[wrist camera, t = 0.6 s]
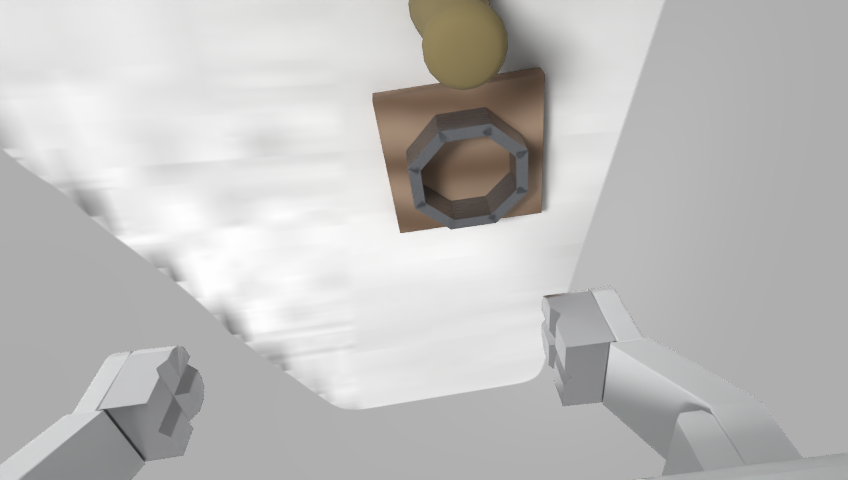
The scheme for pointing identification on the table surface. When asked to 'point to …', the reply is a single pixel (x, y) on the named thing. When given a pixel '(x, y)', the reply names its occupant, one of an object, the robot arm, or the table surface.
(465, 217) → the metal collar
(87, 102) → the table surface
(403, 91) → the walnut base
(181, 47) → the table surface
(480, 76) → the cork
